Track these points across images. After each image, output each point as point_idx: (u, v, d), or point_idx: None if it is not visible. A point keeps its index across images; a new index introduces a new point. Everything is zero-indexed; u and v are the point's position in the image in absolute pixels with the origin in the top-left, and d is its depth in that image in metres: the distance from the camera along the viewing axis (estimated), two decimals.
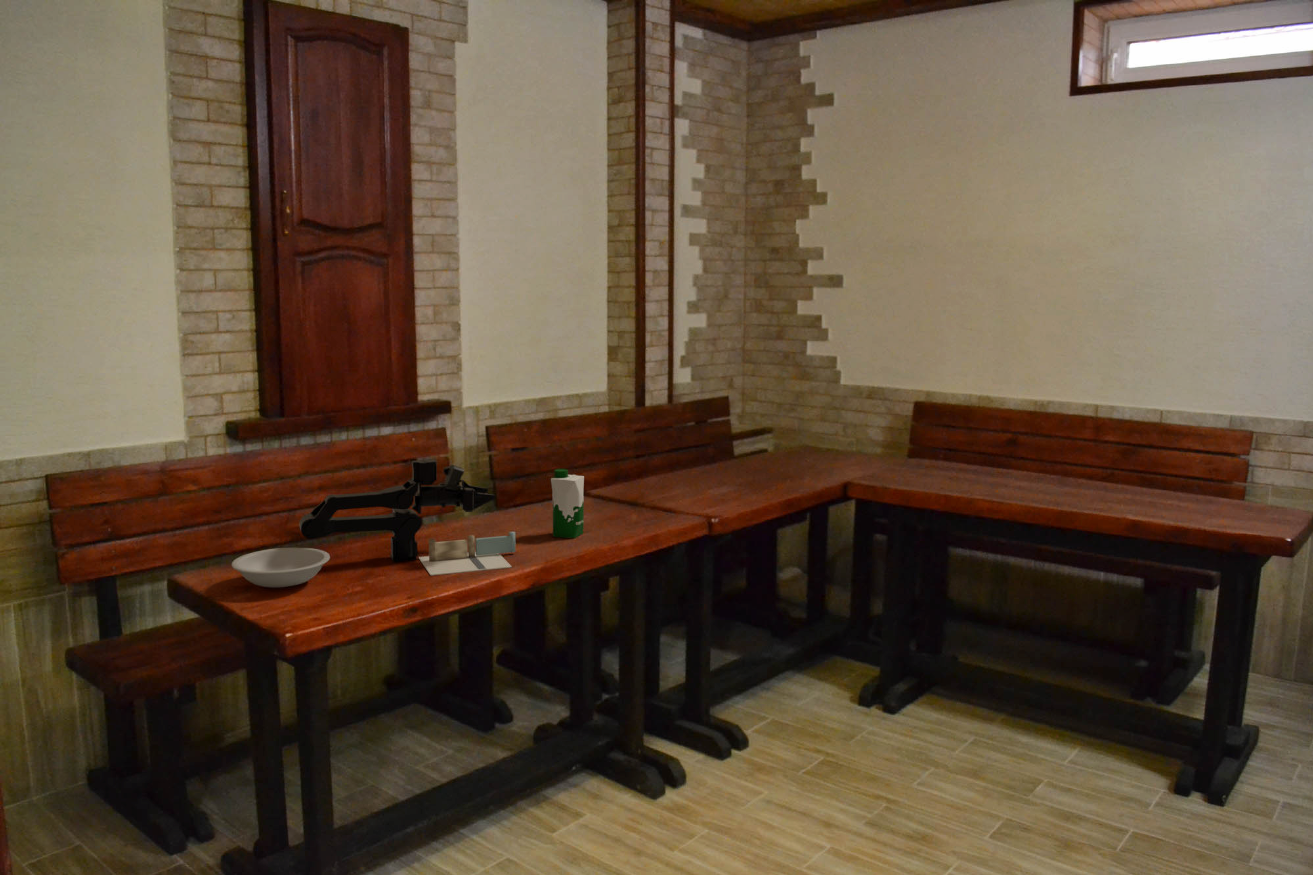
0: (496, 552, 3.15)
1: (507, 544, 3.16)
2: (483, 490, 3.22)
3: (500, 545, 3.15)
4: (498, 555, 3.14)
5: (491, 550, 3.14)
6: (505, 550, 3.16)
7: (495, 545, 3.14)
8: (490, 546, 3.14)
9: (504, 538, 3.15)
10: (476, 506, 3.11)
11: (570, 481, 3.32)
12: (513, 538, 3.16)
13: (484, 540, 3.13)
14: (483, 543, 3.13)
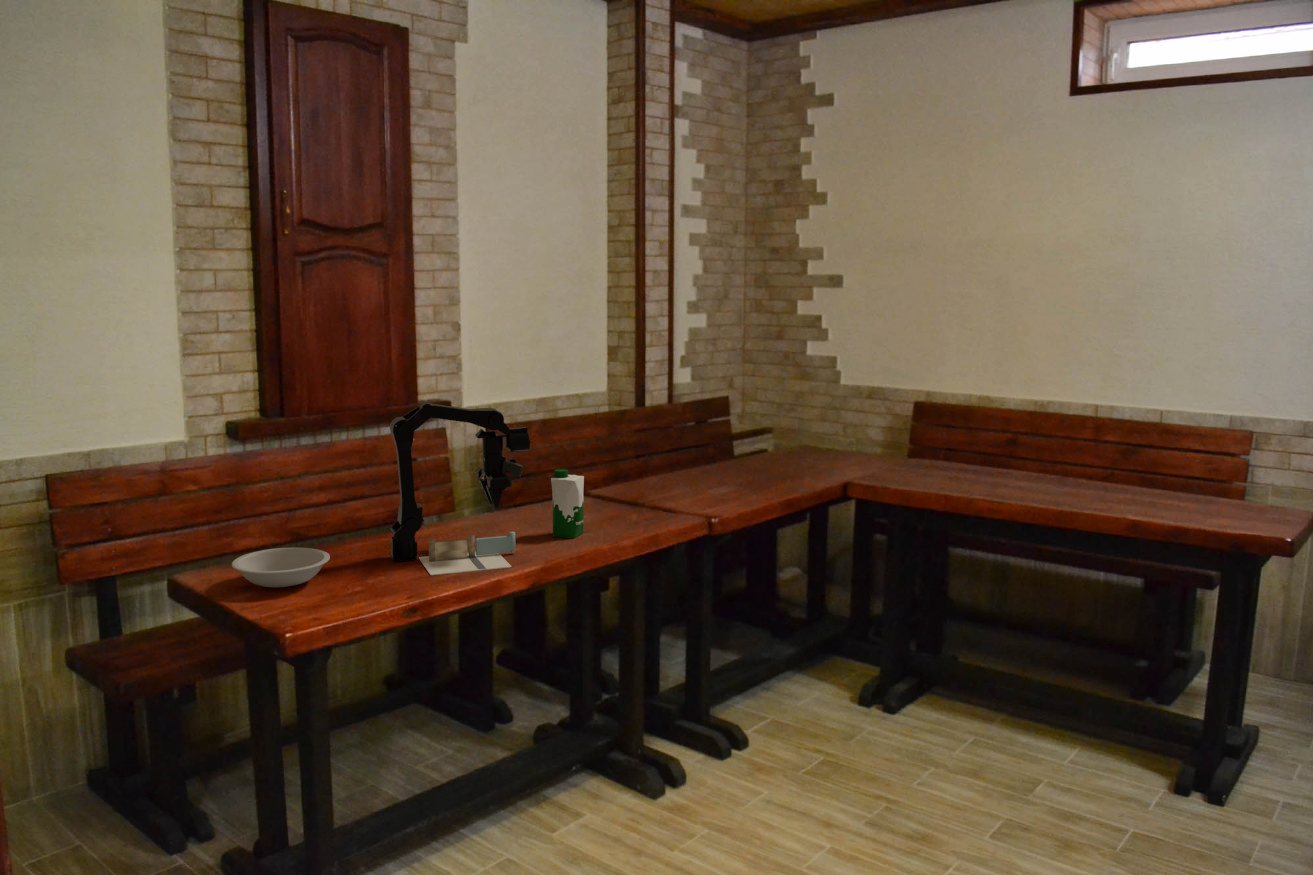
0: (496, 552, 3.15)
1: (507, 544, 3.16)
2: (491, 500, 3.21)
3: (500, 545, 3.15)
4: (498, 555, 3.14)
5: (491, 550, 3.14)
6: (505, 550, 3.16)
7: (495, 545, 3.14)
8: (490, 546, 3.14)
9: (504, 538, 3.15)
10: (490, 490, 3.13)
11: (570, 481, 3.32)
12: (513, 538, 3.16)
13: (484, 540, 3.13)
14: (483, 543, 3.13)
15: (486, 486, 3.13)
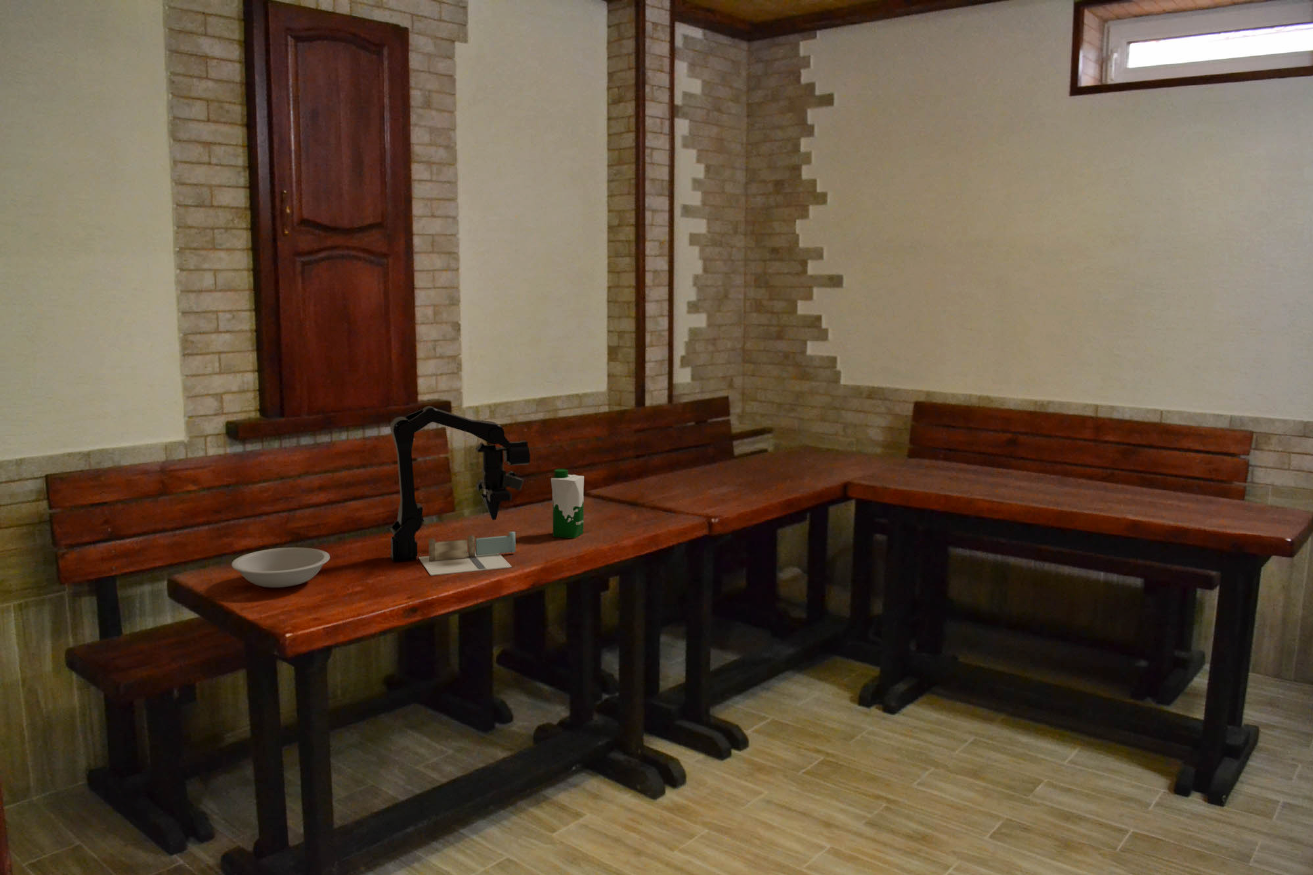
0: (496, 552, 3.15)
1: (507, 544, 3.16)
2: None
3: (500, 545, 3.15)
4: (498, 555, 3.14)
5: (491, 550, 3.14)
6: (505, 550, 3.16)
7: (495, 545, 3.14)
8: (490, 546, 3.14)
9: (504, 538, 3.15)
10: (488, 502, 3.16)
11: (570, 481, 3.32)
12: (513, 538, 3.16)
13: (484, 540, 3.13)
14: (483, 543, 3.13)
15: (484, 498, 3.16)
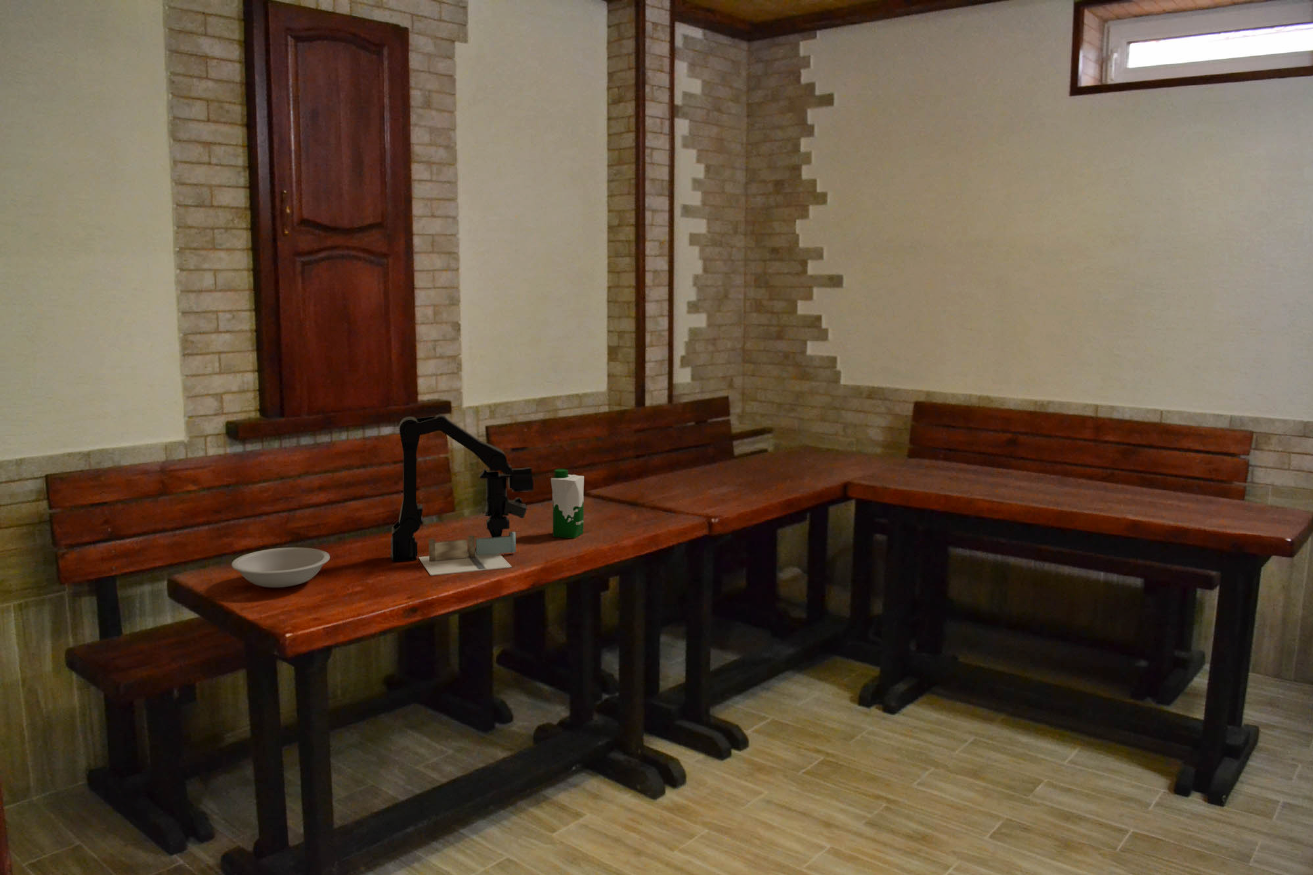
0: (496, 552, 3.15)
1: (507, 544, 3.15)
2: None
3: (500, 545, 3.15)
4: (498, 555, 3.14)
5: (491, 550, 3.14)
6: (505, 551, 3.15)
7: (495, 545, 3.14)
8: (490, 546, 3.14)
9: (504, 538, 3.15)
10: None
11: (570, 481, 3.32)
12: (513, 538, 3.15)
13: (484, 540, 3.13)
14: (483, 543, 3.13)
15: None
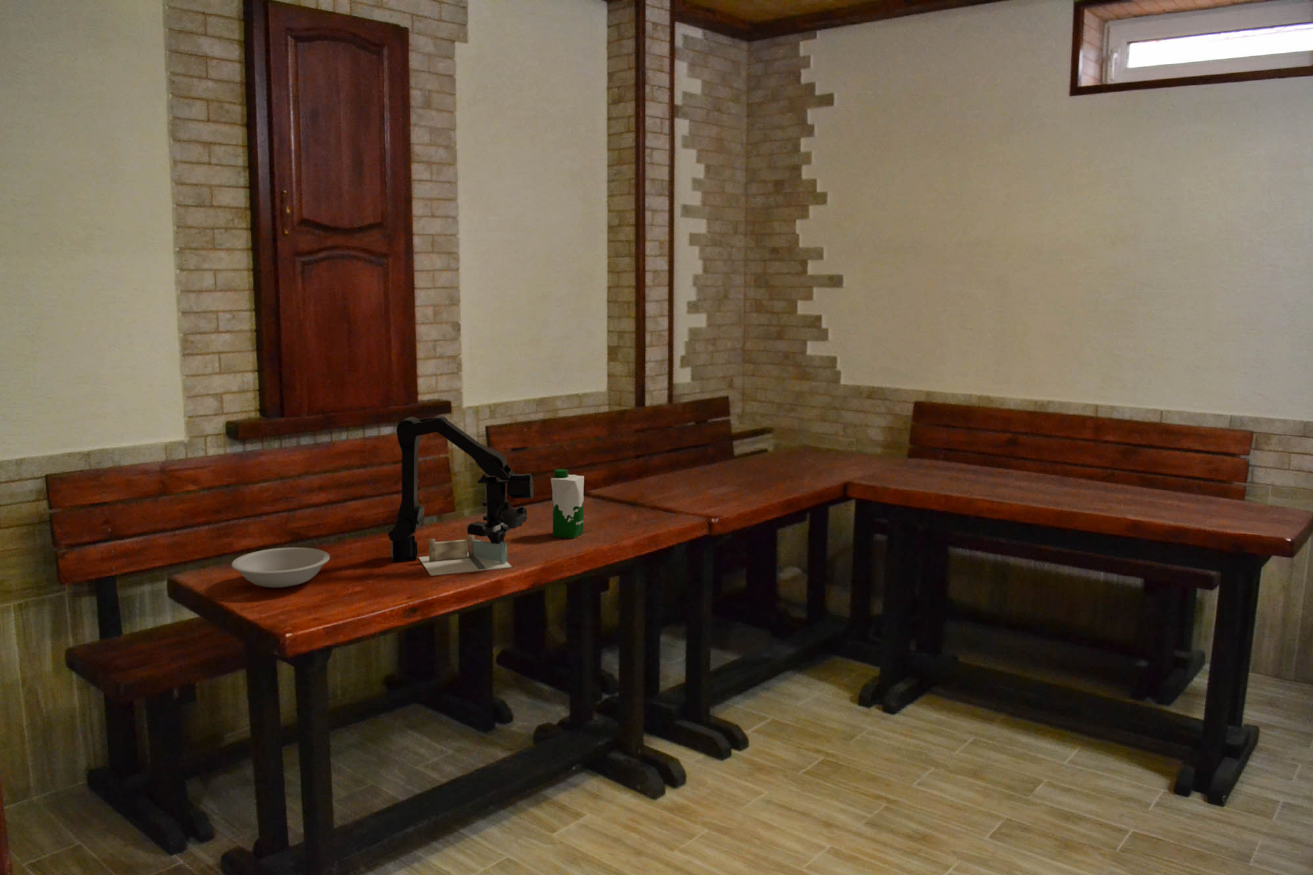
0: (489, 558, 3.09)
1: (497, 553, 3.07)
2: None
3: (492, 552, 3.08)
4: None
5: (485, 555, 3.09)
6: (496, 559, 3.07)
7: (488, 551, 3.08)
8: (484, 550, 3.09)
9: (495, 546, 3.07)
10: None
11: (570, 481, 3.32)
12: (501, 547, 3.05)
13: (479, 543, 3.10)
14: (478, 546, 3.10)
15: None
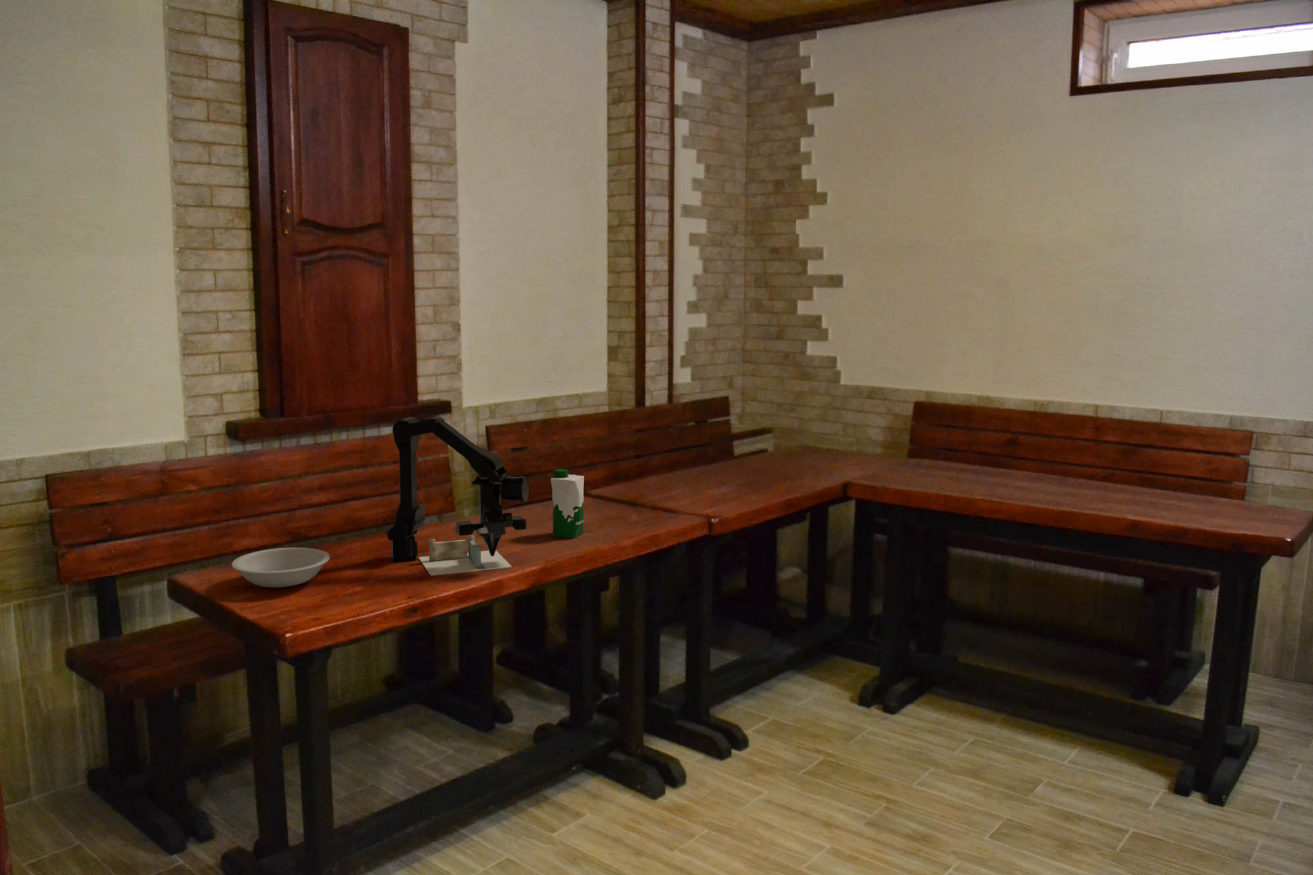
0: (473, 560, 3.06)
1: None
2: None
3: (473, 555, 3.05)
4: (498, 555, 3.14)
5: (472, 557, 3.07)
6: None
7: (472, 553, 3.06)
8: (472, 552, 3.07)
9: (473, 549, 3.03)
10: None
11: (570, 481, 3.32)
12: (474, 552, 3.01)
13: (471, 544, 3.09)
14: (470, 547, 3.09)
15: None
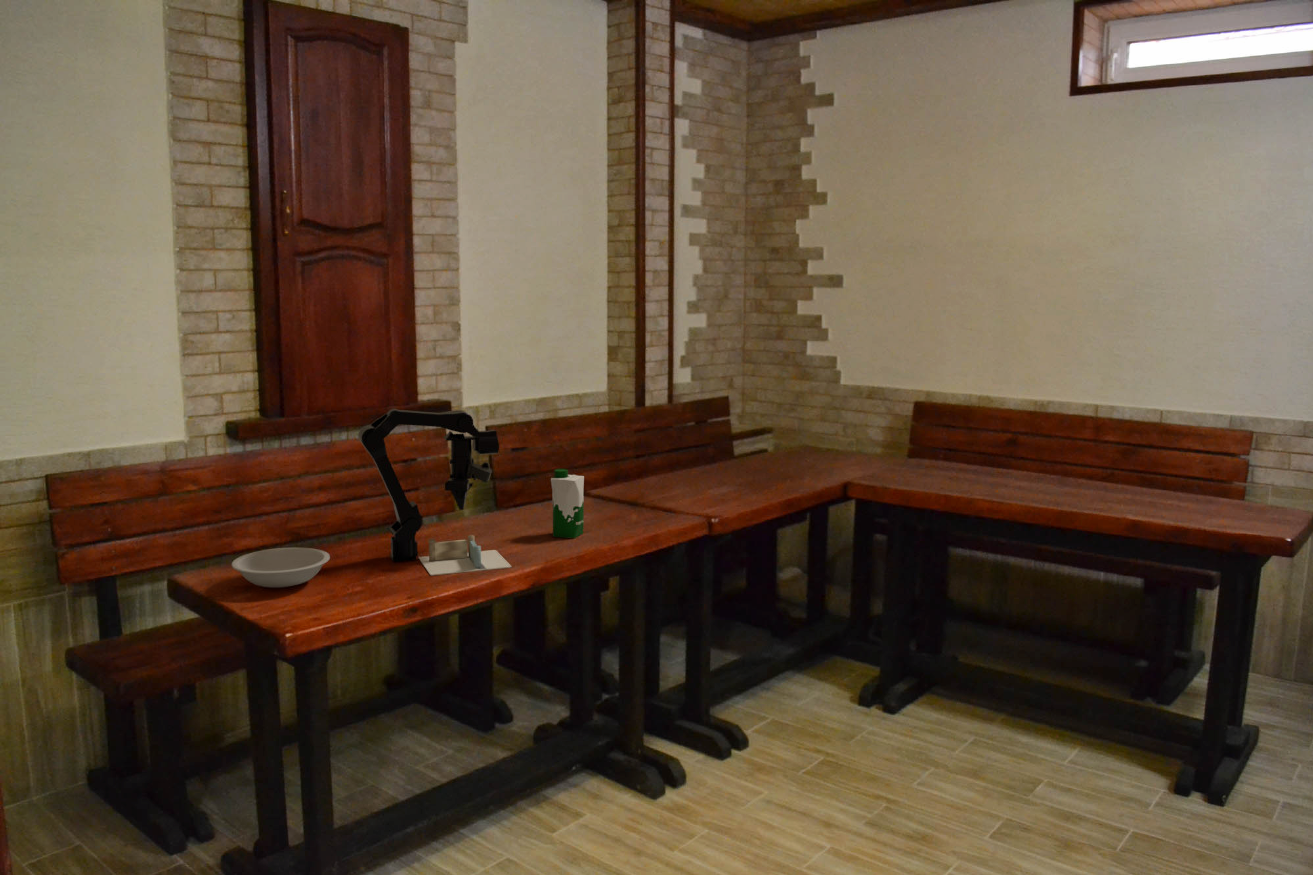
0: (473, 560, 3.06)
1: None
2: None
3: (473, 555, 3.05)
4: (498, 555, 3.14)
5: (472, 557, 3.07)
6: None
7: (472, 553, 3.06)
8: (472, 552, 3.07)
9: (473, 549, 3.03)
10: (452, 491, 3.13)
11: (570, 481, 3.32)
12: (474, 552, 3.01)
13: (471, 544, 3.09)
14: (470, 547, 3.09)
15: None
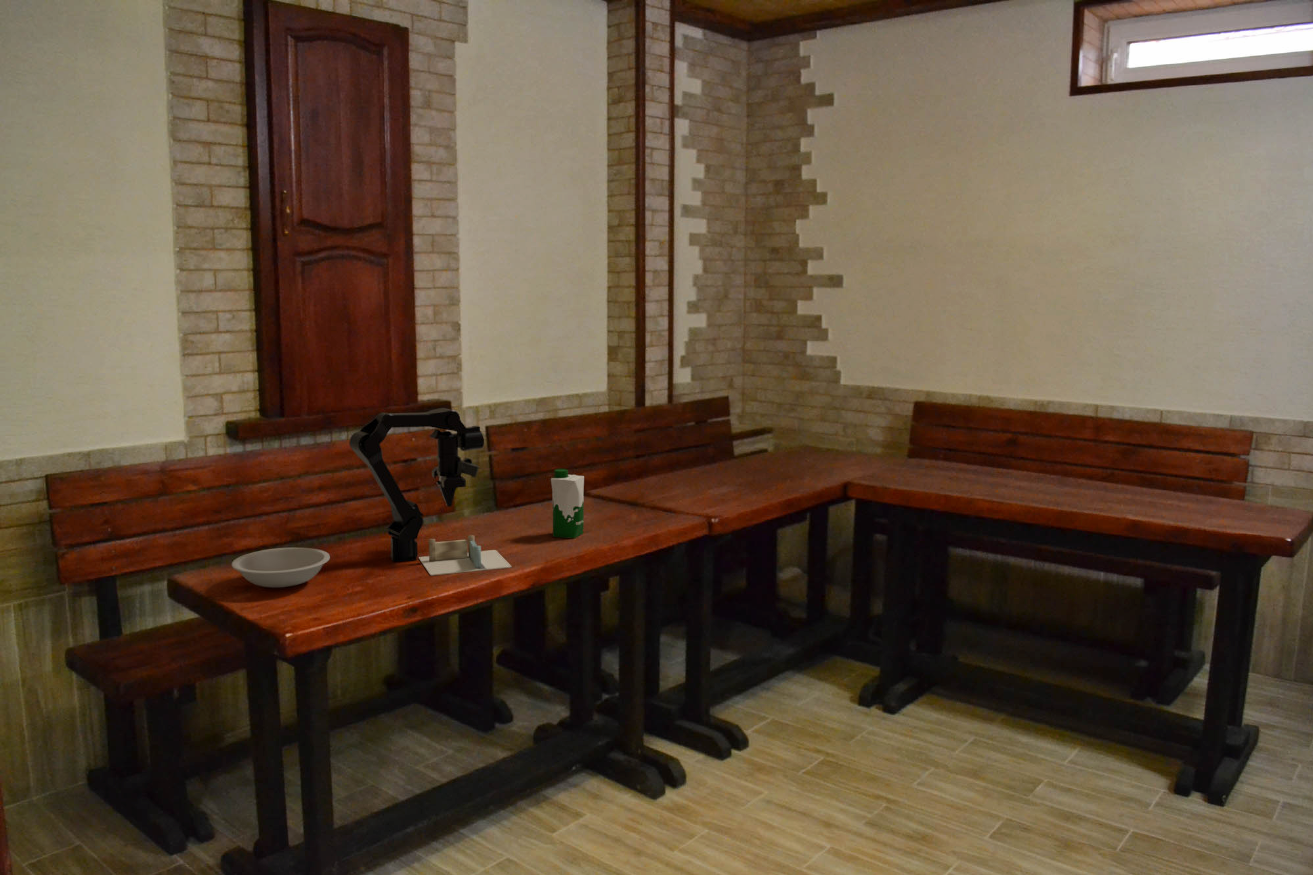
0: (473, 560, 3.06)
1: None
2: None
3: (473, 555, 3.05)
4: (498, 555, 3.14)
5: (472, 557, 3.07)
6: None
7: (472, 553, 3.06)
8: (472, 552, 3.07)
9: (473, 549, 3.03)
10: (442, 488, 3.15)
11: (570, 481, 3.32)
12: (474, 552, 3.01)
13: (471, 544, 3.09)
14: (470, 547, 3.09)
15: (439, 484, 3.15)
